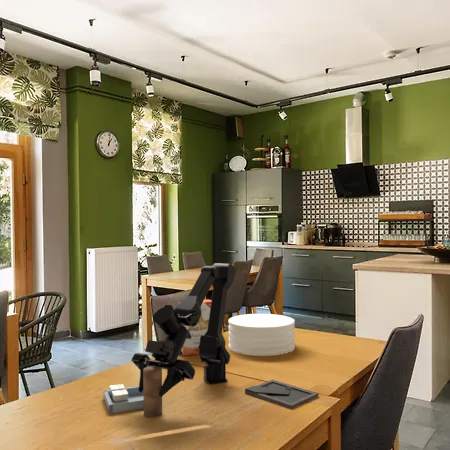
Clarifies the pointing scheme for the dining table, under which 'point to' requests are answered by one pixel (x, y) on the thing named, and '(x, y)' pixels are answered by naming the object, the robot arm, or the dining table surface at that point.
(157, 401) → the walnut dowel
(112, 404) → the parts tray
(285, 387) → the picture frame
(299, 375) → the dining table surface
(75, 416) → the dining table surface
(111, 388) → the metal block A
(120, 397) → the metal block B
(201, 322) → the cracker box
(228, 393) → the dining table surface
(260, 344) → the plate stack
